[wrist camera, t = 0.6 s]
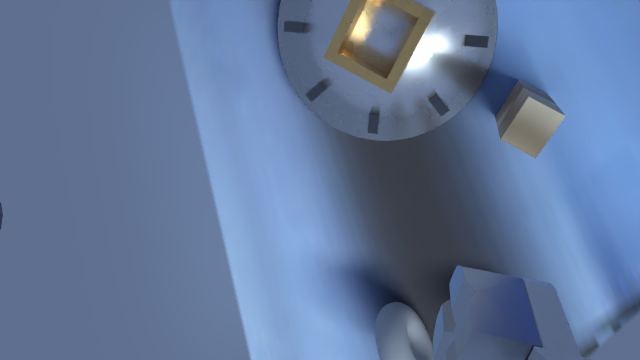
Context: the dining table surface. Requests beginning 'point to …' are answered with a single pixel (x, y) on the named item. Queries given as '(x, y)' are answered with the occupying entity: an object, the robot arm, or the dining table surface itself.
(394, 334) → the donut
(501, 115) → the tall beige block
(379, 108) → the slotted white disc
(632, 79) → the dining table surface
